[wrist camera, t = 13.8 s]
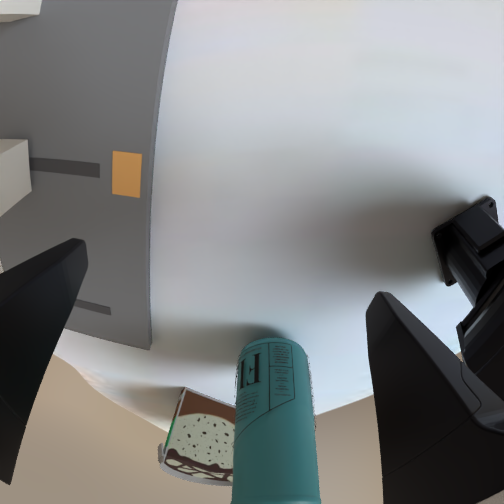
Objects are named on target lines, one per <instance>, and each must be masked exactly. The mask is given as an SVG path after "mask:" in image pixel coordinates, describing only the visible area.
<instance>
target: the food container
mask: <svg viewBox="0 0 504 504" xmlns="http://www.w3.org/2000/svg"><path fill="white" fill-rule="evenodd" d="M234 407H235V406H234V405H231V404H228V403H225V402H222V401H220V400H217V399H214V398H212V397H209V396H207V395H204V394H202V393H199V392H197V391H194V390H192V389H189V388H187V387H185V388H184V389H183V390H182V391H181V394H180V398H179V401H178V404H177V407H176V410H175V414H174V417H173V420H172V423H171V427H170V430H169V433H168V437H167V440H166V443H165V446H164V450H163V443H161V444H160V445H159V446H158V461H159V463H160V467H161V469H162V470H163V471H165V472H167V473H168V474H170V475H172V476H175V477H177V478H180V479H183V480H187V481H192V482H196V483H201V484H208V485H217V486H232V483H233V470H232V469H233V450H234V448H233V447H234V446H233V445H234V443H233V442H234V432H235V418H234V417H235V416H234V414H236V413H235V412H236V407H235V409H234ZM233 419H234V420H233ZM233 422H234V423H233ZM232 446H233V447H232ZM231 454H232V455H231ZM231 465H232V466H231Z"/></svg>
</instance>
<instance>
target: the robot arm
mask: <svg viewBox="0 0 504 504" xmlns="http://www.w3.org/2000/svg"><path fill="white" fill-rule="evenodd" d="M490 203H491V204H490ZM489 204H490V205H489ZM438 233H439V235H438V236H437V234H438ZM432 239H433V242H434V246H435V249H436V253H437V256H438V260H439V264H440V268H441V272H442V276H443V280H444V283H445V284H446V286H451V285H453V284H455V283H457V282H458V284H459V285H460V287H461V288H462V290H463V291H464V293H465V295H466V296H467V298H468V299H469V301H470V303H471V304H472V306H473V309H472V310H471V311H470V312H469V314H468V315H467V316H466V317H465V318H464V320H463V321H462V322H460V323H459V324H458V325H457V326H456V329H457V334H458V339H459V343H460V348H461V353H462V358H463V362H462V361H461V362H460V359H459V358H458V357H457V356H456V355H455V354H454V353H453V352H452V351H451V350H450V349H449V348H448V347H447V346H446V345H445V344H444V343H443V342H442V341H441V340H440V339H439V338H438V337H437V336H436V335H435V334H433V333H432V332H431V331H430V330H429V329H428V328H427V327H426V326H425V325H424V324H423V323H422V322H421V321H420V320H419V319H418V318H417V317H416V316H415V315H414V314H412V313H411V312H410V311H409V310H408V309H407V308H406V307H405V306H404V305H403V304H402V303H401V302H400V301H398V300H397V299H396V298H395V297H394V296H393V295H392V294H391V293H389V292H382V291H379V292H377V293H376V294H375V296H374V298H373V300H372V302H371V303H370V305H369V307H368V309H367V311H366V329H367V344H368V358H369V365H370V371H371V378H372V385H373V392H374V399H375V406H376V415H377V423H378V432H379V443H380V453H381V464H382V465H381V466H382V476H383V478H382V483H383V504H504V229H503V228H502V227H501V226H500V225H499V223H498V215H497V208H496V202H495V200H494V199H493V198H491V197H488V198H486V199H485V200H483V201H482V202H480V203H478V204H477V205H475V206H473V207H472V208H470V209H468V210H466V211H465V212H463V213H461V214H460V215H458V216H456V217H455V218H453V219H451V220H449V221H448V222H446V223H444V224H442V225H441V226H439V227H437V228H435V229H434V230H433V231H432ZM87 269H88V254H87V246H86V242H85V241H84V240H83V239H78V238H71V239H69V240H67V241H65V242H63V243H60V244H58V245H56V246H54V247H52V248H50V249H48V250H46V251H44V252H42V253H40V254H38V255H36V256H34V257H32V258H30V259H28V260H26V261H24V262H22V263H20V264H18V265H16V266H14V267H12V268H11V269H9V270H7V271H5V272H3V273H1V274H0V480H1V481H3V482H5V483H6V484H8V485H10V484H11V481H12V476H13V472H14V468H15V464H16V460H17V456H18V453H19V449H20V445H21V441H22V438H23V435H24V432H25V428H26V425H27V421H28V418H29V415H30V412H31V409H32V406H33V403H34V400H35V398H36V395H37V392H38V390H39V387H40V384H41V382H42V379H43V376H44V374H45V371H46V369H47V366H48V364H49V361H50V359H51V356H52V354H53V352H54V349H55V347H56V345H57V342H58V340H59V338H60V336H61V333H62V331H63V329H64V327H65V325H66V322H67V320H68V318H69V316H70V314H71V312H72V309H73V307H74V304H75V301H76V299H77V296H78V293H79V290H80V288H81V285H82V282H83V280H84V277H85V275H86V272H87ZM449 280H450V281H449Z"/></svg>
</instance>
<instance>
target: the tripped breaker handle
mask: <svg viewBox="0 0 504 504" xmlns="http://www.w3.org/2000/svg"><path fill="white" fill-rule="evenodd" d="M31 191H32V189H31V179H30V169H29V155H28V139H0V217H1V216H2V215H3V214H4V213H5V212H7V211H8V210H9V209H10V208H11V207H12V206H14V205H15V204H16V203H17V202H19V201H20V200H21V199H22V198H23V197H25V196H26V195H27V194H28V193H30V192H31Z"/></svg>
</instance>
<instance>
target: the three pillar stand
mask: <svg viewBox="0 0 504 504" xmlns="http://www.w3.org/2000/svg"><path fill="white" fill-rule="evenodd" d="M177 1H178V0H0V139H28V155H29V169H30V179H31V189H32V191H31V192H30V193H28V194H27V195H26V196H25V197H23V198H22V199H21V200H20V201H19V202H17V203H16V204H15V205H14V206H12V207H11V208H10V209H9V210H8V211H7V212H5V213H4V214H3V215H2V216H1V217H0V260H1V263H2V266H3V270H4V272H5V271H7V270H9V269H11V268H12V267H14V266H16V265H18V264H20V263H22V262H24V261H26V260H28V259H30V258H32V257H34V256H36V255H38V254H40V253H42V252H44V251H46V250H48V249H50V248H52V247H54V246H56V245H58V244H60V243H63V242H65V241H67V240H69V239H71V238H78V239H83V240H84V241H85V242H86V246H87V254H88V269H87V272H86V275H85V277H84V280H83V282H82V285H81V288H80V290H79V293H78V296H77V299H76V301H75V304H74V307H73V309H72V312H71V314H70V316H69V318H68V320H67V322H66V325H65V327H64V328H65V329H69V330H72V331H75V332H79V333H82V334H86V335H89V336H93V337H97V338H100V339H104V340H108V341H112V342H116V343H120V344H124V345H128V346H132V347H136V348H141V349H145V350H150V347H151V344H152V338H151V317H150V216H151V195H152V178H153V164H154V152H155V141H156V131H157V122H158V113H159V105H160V97H161V90H162V83H163V76H164V69H165V63H166V57H167V51H168V46H169V40H170V35H171V30H172V25H173V20H174V15H175V10H176V6H177Z"/></svg>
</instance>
